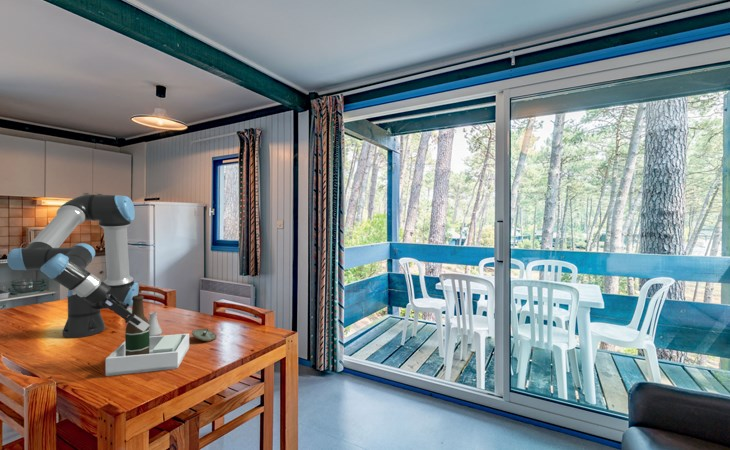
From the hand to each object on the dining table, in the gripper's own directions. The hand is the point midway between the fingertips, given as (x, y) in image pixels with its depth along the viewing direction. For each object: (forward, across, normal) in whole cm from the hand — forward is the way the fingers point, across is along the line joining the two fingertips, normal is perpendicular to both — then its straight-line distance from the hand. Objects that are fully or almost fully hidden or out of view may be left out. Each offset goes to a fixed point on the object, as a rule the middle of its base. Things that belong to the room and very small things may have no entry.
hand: (143, 323), depth 126 cm
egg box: (+14, +4, -4) cm, 16 cm away
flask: (+16, -30, -4) cm, 34 cm away
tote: (+12, +2, -8) cm, 14 cm away
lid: (+28, -9, +7) cm, 30 cm away
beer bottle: (+8, 0, -11) cm, 13 cm away
